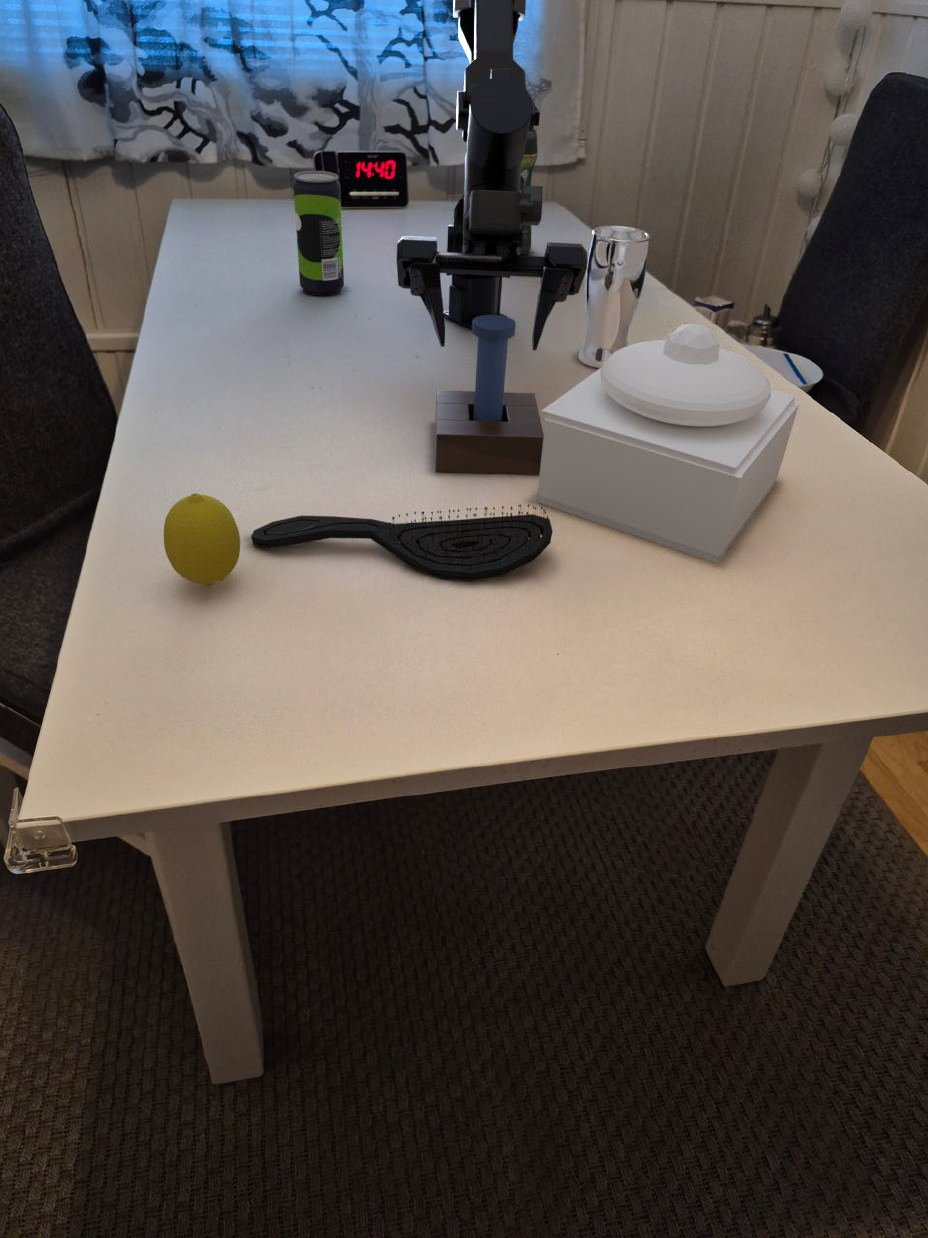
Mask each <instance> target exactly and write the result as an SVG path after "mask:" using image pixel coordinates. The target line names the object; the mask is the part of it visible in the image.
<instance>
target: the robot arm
mask: <svg viewBox="0 0 928 1238" xmlns="http://www.w3.org/2000/svg"><path fill="white" fill-rule="evenodd" d="M526 5H527V0H453V9H452V10H453V13H452V16H453V18H458V35H457V36H458V40H459V43H460V45H461V46H462V48H463V51H464V52H465V55H466V57H467V59H468V61H469V64H468V65H467V66H466V67H465V69H464V80H463V81H464V84H463V90H457V93H456V117H455V119H456V121H455V122H456V123H455V128H456V129H455V130H456V131H462V141H463V142H464V143H466V153H465V156H464V184H463V185H464V186H463V187H464V188H463V189H464V190H463V193H462V195H461V196H460V198H459V200H458V201H457V203H456V205H455V207H454V209H453V215H452V217H453V218H452V224H448V225H447V231H446V232H447V234H446V235H447V236H446V237H447V238H446V251H438V236H417V235H415V236H414V235H402V237H401V238H400V239H399V240H398V241H397V243H396V271H397V285H398V287H400V288H402V289H406V290H410V295H411V296H414V297H419V298H420V299H421V301H422V302H423V304H424V307H425V308H426V311H427V313H428V315H429V316H430V319H431V322H432V325H433V328H434V331H435V334H436V336H437V340H438V342H439V343H438V344H439V346H440V347H442V348H445V346H446V321H445V318H447V319H449V320H451V321H453V322H456V323H457V324H460V325H462V326H464V327H466V328H469V329H471V330H472V321H473V319H474V318H476V317H478V316H483V315H500V316H505V317H508V316H507V315H505V314H503V313H501V304H502V303H501V302H502V292H503V291H502V290H503V278H505V279H510V278H511V277H523V278H524V277H526V278H540V286H539V290H538V294H537V299H536V308H535V315H534V322H533V329H532V335H531V346H532V347H531V348H532V349H531V350H532V351H535V352H536V351H537V350H538V346H539V343H540V340H541V338H542V336H543V335H542V334H543V331H544V329H545V325H546V323H547V320H548V318H549V317H550V314H551V312H552V311H553V310H554V309H553V308H554V307H555V305H556V303H564V302H566V301H567V299H568V296H570V297H571V296H575V295H578V294H579V293H580V290H581V287H582V285H583V282H584V280H585V274H586V270H587V258H588V252H587V250H586V248H585V247H584V245H583V244H582V243H573V242H553V241H552V242H551V241H550V242H549V241H548V242H547V243H546V247H545V251H544V255H543V256H540V255H539V256H536V255H520V254H519V247H520V248H521V247H522V242H523V225H531V226H534V227H535V226H537V227H538V226H539V225H540V223H541V221H542V217H543V216H542V215H543V186H541V185H531V186H523V189H522V192H521V193H520V173H521V161H522V159H523V157H524V153H525V148H526V142H527V136H528V134H529V133H532V132H533V128H534V127H539V126H540V116H541V112H540V110H539V109H538V108H537V106H536V103H535V102H534V99H533V95H532V94H530V93H529V92H528V90H527V82H526V81H527V80H526V71H525V70H524V68H522V66H520V65H519V64H518V63H517V62H516V61H515V59H514V43H515V40H516V36H517V32H518V28H519V22H523V21H524V19H525V17H526V9H527V8H526V7H527V6H526ZM534 129H535V128H534ZM441 274H445V276H447V277H448V276H449V277H450V276H451V284H450V285H449V291H448V293H449V294H448V310H444V303H443V292H442V291H443V290H442V282H441V281H442V279H441Z"/></svg>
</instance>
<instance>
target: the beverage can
mask: <svg viewBox="0 0 928 1238" xmlns="http://www.w3.org/2000/svg"><path fill="white" fill-rule="evenodd" d="M294 179H295V180H294V182H293V184H292V187H293V188H292V189H293V203H294V217H295V232H296V233H295V234H296V247H297V260H298V274H299V275H298V277H299V286H300V287H301V288H302V289H303V291H304V292H305V293H306V294H308V295H312V296H316V297H317V296H318V297H327V296H333V295H337V294H339V293H340V292H341V290H342V289H343V288H344V286H345V276H344V275H345V274H344V271H345V270H344V247H343V223H342V220H343V219H342V199H341V195H342V194H341V184H340V182H339V181H338V179H339V176H338V174H337V173H334V172H331V171H325V170H305V171H300V172H297V173H295V174H294Z"/></svg>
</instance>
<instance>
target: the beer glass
mask: <svg viewBox="0 0 928 1238" xmlns="http://www.w3.org/2000/svg"><path fill="white" fill-rule="evenodd" d="M650 237H651V235H650V234H649V232H647V231H645V230H643V229H640V228H636V227H632V226H625V225H601V226H598V227H595V228H593V229H592V233H591V239H590V244H589V249H588V252H587V270H586V273H585V276H584V303H585V304H584V306H585V330H584V336H583V341H582V344H581V347H580V350H579V353H578V360H579V361H580V362H581V363H582V364H584V365H586V366H588V367H590V368H595V369H600V368H601V367H602V365H603V363H604V361H605V360H606V359H607V358H608V357H609V356H610V355H612V354H613V353H614V352H616V351H618V350H620V349H621V348H624V347H627V346H628V342H629V341H628V340H629V332H630V328H631V324H632V320H633V319H634V316H635V313H636V310H637V307H638V304H639V301H640V299H641V295H642V290H643V288H644V282H645V277H646V273H647V265H648V258H649V257H648V256H649V244H650Z"/></svg>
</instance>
